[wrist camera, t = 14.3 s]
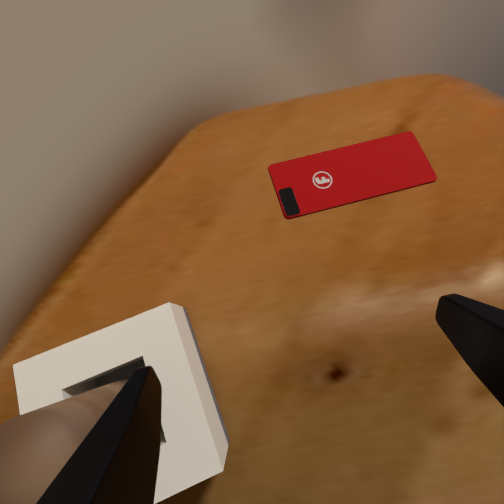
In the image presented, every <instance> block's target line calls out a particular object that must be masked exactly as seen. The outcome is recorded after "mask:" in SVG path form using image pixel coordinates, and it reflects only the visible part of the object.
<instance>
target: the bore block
mask: <svg viewBox="0 0 504 504" xmlns="http://www.w3.org/2000/svg"><path fill="white" fill-rule="evenodd" d="M145 366H152V367H153V369H154V371H155V373H156V375H157V377H158V379H159V380H160V383H161V387H162V408H161V445H160V456H159V464H158V472H157V480H156V488H155V496H154V504H156V503H158V502H160V501H162V500H164V499H166V498H168V497H170V496H172V495H174V494H177V493H179V492H181V491H183V490H185V489H187V488H189V487H191V486H193V485H195V484H197V483H199V482H201V481H204V480H206V479H208V478H210V477H212V476H214V475H216V474H218V473H220V472H222V471H223V469H224V464H225V459H226V455H227V450H228V445H229V437H228V434H227V431H226V428H225V425H224V422H223V419H222V416H221V413H220V410H219V407H218V404H217V401H216V398H215V395H214V392H213V389H212V386H211V383H210V380H209V377H208V374H207V371H206V368H205V365H204V362H203V359H202V356H201V353H200V350H199V347H198V344H197V341H196V338H195V335H194V332H193V329H192V326H191V323H190V320H189V317H188V314H187V311H186V308H184V307H181V306H178V305H176V304H173V303H170V302H169V303H166V304H164V305H161V306H159V307H156V308H154V309H151V310H149V311H146V312H144V313H141V314H139V315H136V316H134V317H131V318H129V319H126V320H124V321H121V322H119V323H116V324H114V325H111V326H109V327H106V328H104V329H101V330H99V331H96V332H94V333H91V334H89V335H86V336H84V337H81V338H79V339H76V340H74V341H71V342H69V343H66V344H64V345H61V346H59V347H56V348H54V349H51V350H49V351H46V352H44V353H41V354H39V355H36V356H34V357H31V358H29V359H26V360H24V361H21V362H19V363H16V364H14V365H13V369H14V376H15V383H16V389H17V396H18V403H19V410H20V415H22V414H25V413H28V412H31V411H33V410H36V409H39V408H42V407H45V406H48V405H50V404H53V403H56V402H59V401H62V400H64V399H67V398H70V397H73V396H76V395H78V394H81V393H84V392H87V391H90V390H93V389H95V388H98V387H101V386H104V385H107V384H109V383H112V382H115V381H118V380H121V379H123V378H126V377H129V376H131V375H132V374H133V372H134V371H135V370H136V369H138V368H141V367H145Z"/></svg>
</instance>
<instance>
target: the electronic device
mask: <svg viewBox="0 0 504 504" xmlns="http://www.w3.org/2000/svg"><path fill="white" fill-rule="evenodd" d="M268 169H269V172H270V175H271V178H272V181H273V184H274V187H275V190H276V193H277V196H278V199H279V202H280V205H281V208H282V211H283V214H284V216H285V218H287V219H291V218H295V217H299V216H303V215H306V214H310V213H314V212H318V211H322V210H326V209H330V208H333V207H337V206H341V205H345V204H349V203H353V202H357V201H361V200H364V199H368V198H372V197H376V196H380V195H384V194H388V193H391V192H395V191H399V190H403V189H407V188H411V187H415V186H419V185H422V184H426V183H430V182H434V181H435V180H436V179H437V176H436V174H435V172H434V171H433V169H432V167H431V165H430V163H429V161H428V160H427V158H426V156H425V154H424V152H423V150H422V149H421V147H420V145H419V143H418V141H417V139H416V138H415V136H414V134H413V133H412V132H410V131H408V132H404V133H400V134H396V135H391V136H387V137H383V138H379V139H375V140H371V141H367V142H362V143H358V144H354V145H350V146H346V147H342V148H338V149H334V150H329V151H325V152H321V153H317V154H313V155H309V156H305V157H301V158H296V159H292V160H288V161H284V162H280V163H276V164H272V165H270V166H269V168H268Z"/></svg>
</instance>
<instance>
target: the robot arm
mask: <svg viewBox="0 0 504 504" xmlns="http://www.w3.org/2000/svg"><path fill="white" fill-rule="evenodd" d="M435 317H436V321H437V323H438V325H439V326H440V327H441V329H442V330H443V332H444V333H445V334H446V336H447V337H448V339H449V340H450V341H451V343H452V344H453V345H454V347H455V348H456V350H457V351H458V352H459V354H460V355H461V357H462V358H463V359H464V361H465V362H466V363H467V365H468V366H469V367H470V368H471V370H472V371H473V372H474V373H475V375H476V376H477V377H478V378H479V379H480V380H481V382H482V383H483V384H484V385H485V386H486V387H487V388H488V390H489V391H490V392H491V393H492V394H493V395H494V397H495V398H496V399H497V400H498V401H499V402H500V403H501V405H502V406H503V407H504V310H502V309H499V308H496V307H493V306H490V305H488V304H485V303H482V302H479V301H476V300H473V299H470V298H467V297H464V296H461V295H458V294H449V295H444V296H441V297H440V299H439V302H438V306H437V310H436V315H435ZM161 408H162V387H161V383H160V380H159V379H158V377H157V375H156V373H155V371H154V369H153V367H152V366H145V367H141V368H138V369H136V370H135V371H134V372H133V374H132V375H131V376H130V378H129V379H128V380H127V382H126V383H125V384H124V386H123V387H122V389H121V390H120V391H119V393H118V394H117V395H116V397H115V398H114V399H113V401H112V402H111V403H110V405H109V406H108V407H107V409H106V410H105V411H104V413H103V414H102V415H101V417H100V418H99V419H98V421H97V422H96V423H95V425H94V426H93V428H92V429H91V430H90V432H89V433H88V434H87V436H86V437H85V438H84V440H83V441H82V442H81V444H80V445H79V446H78V448H77V449H76V450H75V452H74V453H73V454H72V456H71V457H70V458H69V460H68V461H67V463H66V464H65V465H64V467H63V468H62V469H61V471H60V472H59V473H58V475H57V476H56V477H55V479H54V480H53V481H52V483H51V484H50V485H49V487H48V488H47V489H46V491H45V492H44V493H43V495H42V496H41V497H40V499H39V500H38V502H37V503H36V504H154V496H155V488H156V480H157V472H158V464H159V456H160V445H161Z"/></svg>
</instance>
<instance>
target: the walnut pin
mask: <svg viewBox="0 0 504 504" xmlns="http://www.w3.org/2000/svg"><path fill="white" fill-rule="evenodd" d="M129 378H130V376H129V377H126V378H123V379H121V380H118V381H115V382H112V383H109V384H107V385H104V386H101V387H98V388H95V389H93V390H90V391H87V392H84V393H81V394H78V395H76V396H73V397H70V398H67V399H64V400H62V401H59V402H56V403H53V404H50V405H48V406H45V407H42V408H39V409H36V410H33V411H31V412H28V413H25V414H22V415H19V416H17V417H14V418H12V419H10V420H8V421H6V422H4V423H3V424H1V425H0V504H36V503H37V502H38V500H39V499H40V497H41V496H42V495H43V493H44V492H45V491H46V489H47V488H48V487H49V485H50V484H51V483H52V481H53V480H54V479H55V477H56V476H57V475H58V473H59V472H60V471H61V469H62V468H63V467H64V465H65V464H66V463H67V461H68V460H69V458H70V457H71V456H72V454H73V453H74V452H75V450H76V449H77V448H78V446H79V445H80V444H81V442H82V441H83V440H84V438H85V437H86V436H87V434H88V433H89V432H90V430H91V429H92V428H93V426H94V425H95V423H96V422H97V421H98V419H99V418H100V417H101V415H102V414H103V413H104V411H105V410H106V409H107V407H108V406H109V405H110V403H111V402H112V401H113V399H114V398H115V397H116V395H117V394H118V393H119V391H120V390H121V389H122V387H123V386H124V384H125V383H126V382H127V380H128V379H129Z"/></svg>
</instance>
